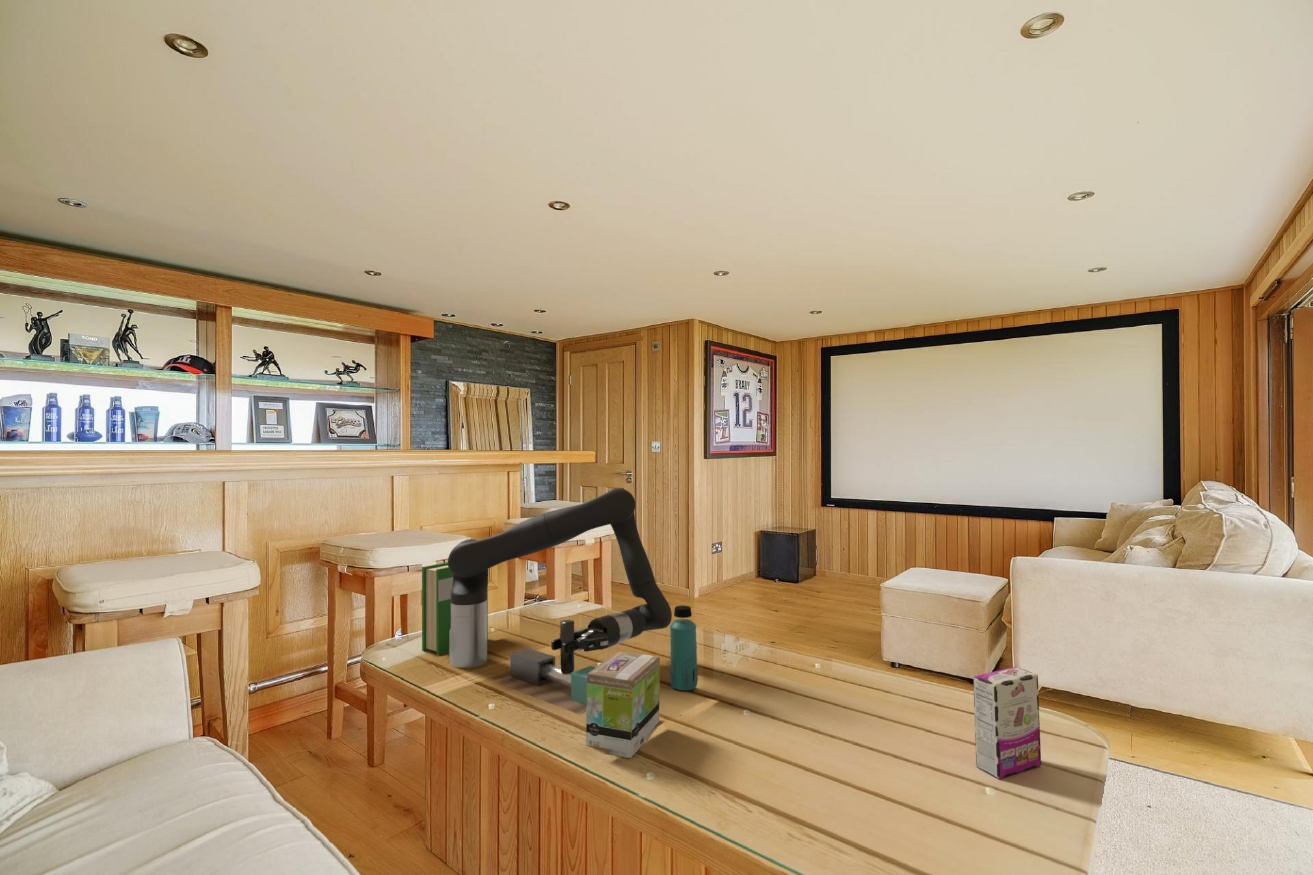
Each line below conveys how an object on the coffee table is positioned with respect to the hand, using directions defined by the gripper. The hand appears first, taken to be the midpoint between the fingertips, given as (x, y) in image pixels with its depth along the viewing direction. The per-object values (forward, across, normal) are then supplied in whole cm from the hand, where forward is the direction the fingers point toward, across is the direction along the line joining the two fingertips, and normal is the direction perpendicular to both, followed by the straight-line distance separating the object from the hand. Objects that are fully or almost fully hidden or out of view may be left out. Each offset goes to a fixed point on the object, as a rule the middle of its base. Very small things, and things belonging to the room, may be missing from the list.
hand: (558, 647), depth 142 cm
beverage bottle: (-22, +20, +12) cm, 32 cm away
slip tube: (-3, -2, +10) cm, 10 cm away
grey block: (-3, -13, +11) cm, 17 cm away
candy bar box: (-31, +85, +12) cm, 92 cm away
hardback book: (-8, -54, +12) cm, 56 cm away
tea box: (+4, +24, +12) cm, 28 cm away
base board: (-3, -4, +12) cm, 13 cm away
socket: (-3, +8, +11) cm, 14 cm away
